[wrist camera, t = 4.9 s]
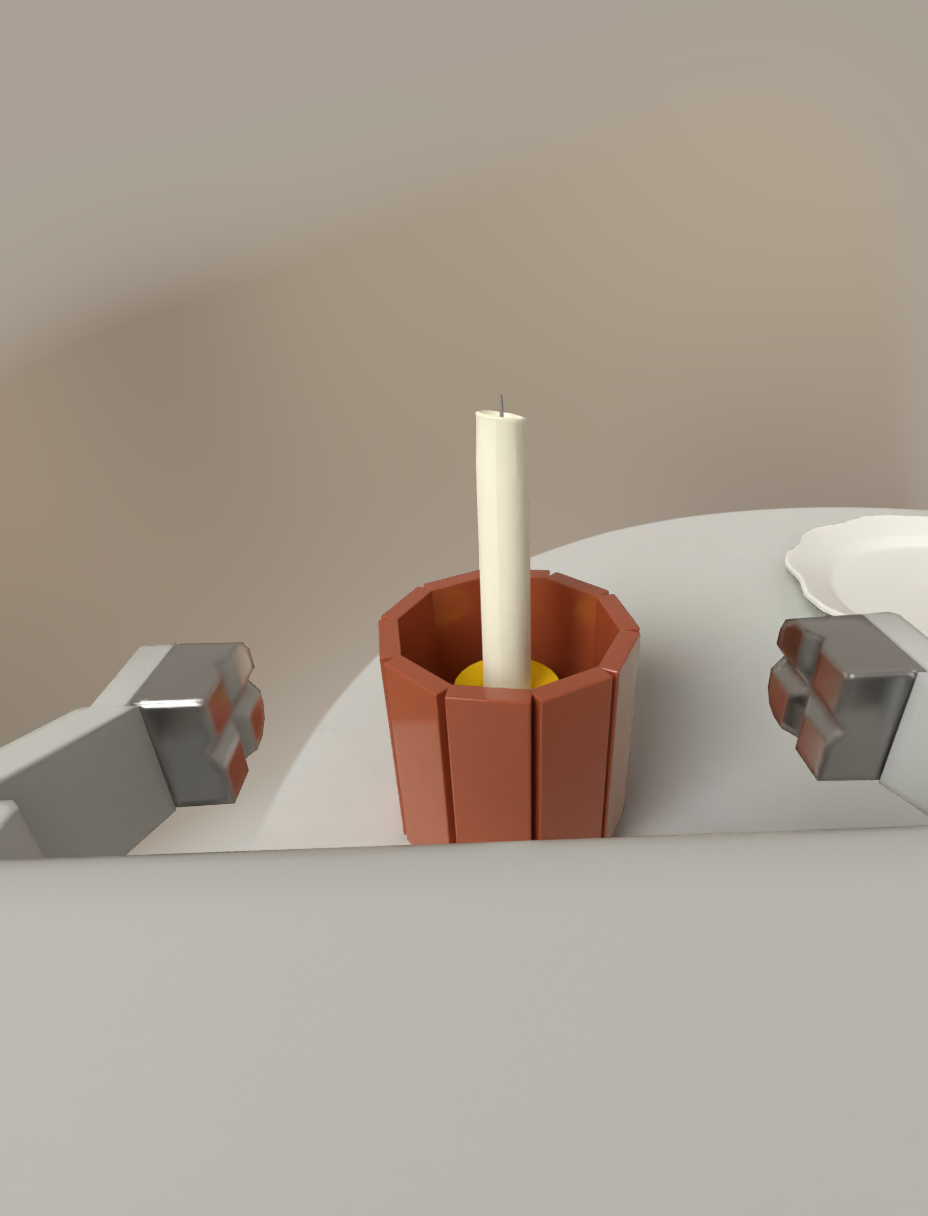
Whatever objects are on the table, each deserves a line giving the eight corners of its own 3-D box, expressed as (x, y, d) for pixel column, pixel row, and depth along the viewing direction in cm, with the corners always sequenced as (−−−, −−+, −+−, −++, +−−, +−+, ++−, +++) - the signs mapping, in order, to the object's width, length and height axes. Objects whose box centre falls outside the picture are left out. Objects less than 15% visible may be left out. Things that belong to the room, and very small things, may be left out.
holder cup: (521, 939, 20) (518, 745, 16) (356, 796, 26) (326, 628, 22) (666, 793, 25) (690, 618, 21) (501, 700, 31) (497, 549, 27)
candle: (528, 735, 29) (526, 370, 21) (602, 811, 25) (633, 393, 17) (423, 779, 27) (380, 392, 19) (485, 870, 23) (461, 423, 15)
